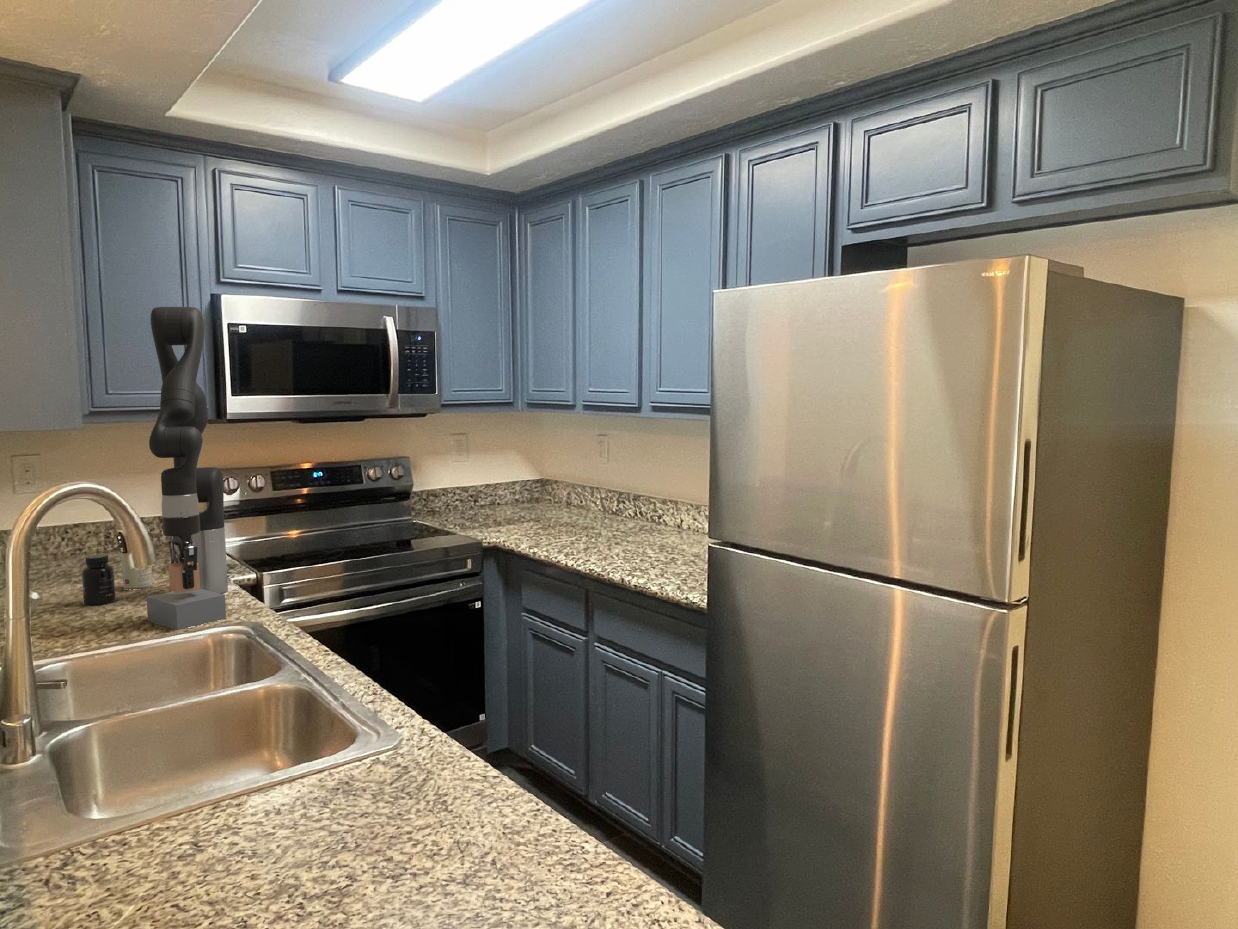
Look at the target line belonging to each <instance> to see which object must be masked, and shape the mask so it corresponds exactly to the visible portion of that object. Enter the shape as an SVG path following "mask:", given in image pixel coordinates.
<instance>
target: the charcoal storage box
mask: <svg viewBox="0 0 1238 929" xmlns="http://www.w3.org/2000/svg"><path fill="white" fill-rule="evenodd" d="M226 606H227V605H226V595H225V594H223V593H220V594H219V593H215V592H211V591H208V590H204V589H200V590H194V591H188V592H181V593H175V592H173V591H169V592H164V593H159V594H155V595H148V596H146V608H147V609H146V612H147V613H146V614H147V621H148V622H150V621H151V622H150V623H153V624H157V625H158V626H162V627H165V626H166V627H165V628H168V627H169V629H172V630H174V631H181V630H186V629H185V628H187V629H189V628H188V627H191V626H195V627H198V625H199V626H202V625H201V624H203V625H205V624H204V623H207V624H209V623H208V622H212V623H214V622H213V621H216V622H218V621H217V620H220V621H222V620H221V619H224V620H227V608H226ZM191 628H192V627H191Z"/></svg>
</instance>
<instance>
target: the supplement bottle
mask: <svg viewBox="0 0 1238 929" xmlns="http://www.w3.org/2000/svg"><path fill="white" fill-rule="evenodd" d="M84 560H85V566H86V567H84V568H83V569H82V571H81V584H82V598H83V604H84V605H85V606H89V607H90V606H91V607H92V606H94V607H95V606H97V607H98V606H104V604H105V605H109V604H111V602H112V603H113V601H114V602H115V600H116V586H115V571H114V569H115V568H114V567H113V566H111V565H110V564H109V562H110V560H109V555H108V554H93V555H92V554H91V555H89V556H86V557H85V559H84ZM108 603H109V604H108Z"/></svg>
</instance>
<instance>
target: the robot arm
mask: <svg viewBox="0 0 1238 929" xmlns="http://www.w3.org/2000/svg"><path fill="white" fill-rule="evenodd" d="M150 326H151V327H150V328H151V333H152V336H153V337H152V338H153V343H154V347H155V351H156V356H157V359H158V364H159V368H160V369H159V370H160V373H161V382H162V385H161V390H160V400H159V401H160V404H159V413H158V416H157V418H156V421H155V424H154V426H153V427H152V428H153V429H152V430H151V433H150V435H149V440H148V446H149V450H150V452H151V453H152V455H153V456H154V457H156V458H160V459H169V458H170V459H173V467H171V468H165V469H164V470H163V471H162V472H161V473H160V483H161V484H160V485H161V486H160V487H161V504H160V505H161V518H162V519H161V520H162V532H163V533H162V534H163V535H164V536H165V537H172V539H169V540H168V547H169V555H170V561H171V562H170V564H173V563H179V564H181V571H182V579H183V588H184V589H191V588H194V573H193V572H194V571H195V570H197V563H198V564H199V576H200V589H204V590H208V591H211V592H215V593H219V594H223V593H226V592H228V591H229V582H228V564H227V563H228V562H227V549H226V548H227V546H226V533H225V508H224V506H225V505H224V503H225V502H224V496H225V494H224V492H225V490H224V488H225V487H224V486H225V485H224V484H225V483H224V475H223V472H222V469H220V468H219V467H218V466H217V467H216V466H214V467H211V466H210V467H209V466H208V467H198V462H199V457H200V454H201V450H202V447H203V439H204V438H203V436H202V434H203V433H204V431H205V429H206V428H207V425H208V422H209V412H208V405H207V404H208V402H207V398H206V394H205V393H204V391H203V389H202V388H201V386H200V385H199V384H198V382H197V378H198V373H199V367H200V362H201V358H202V351H203V347H204V340H205V321H204V317H203V314H202V312H201V311H200V309H199V308H197V307H194V306H156V307H154V308H153V309H152V310H151V312H150ZM173 346H186V347H185V350H184V351H183V352H184V353H183V354H182V356H181V357H180V358H179V360H178V358H177V356H176V354H175V351H174V348H173ZM202 503H204V504H205V503H208V506H207V508H206V509H205V510H203V511H202V512H200V508H199V507H200V506H199V504H202ZM188 562H189V563H190V566H188Z"/></svg>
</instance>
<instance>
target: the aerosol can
mask: <svg viewBox="0 0 1238 929" xmlns="http://www.w3.org/2000/svg"><path fill="white" fill-rule="evenodd" d="M145 525H146V527H147V528H148V531H149V532H150V528H149V525H148V524H145ZM120 555H121V570H122V584H123V590H124V589H128V590H129V589H131V590H133V589H145V590H147V589H146V588H149V587H151V586H152V585H153V568H152V566H151V567H150V568H148V569H147V570H132V569H130V568H129V566H128V564H127V561H126V558H125V556H124V555H123V553H122V552H121V551H120ZM149 589H150V588H149Z"/></svg>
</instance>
